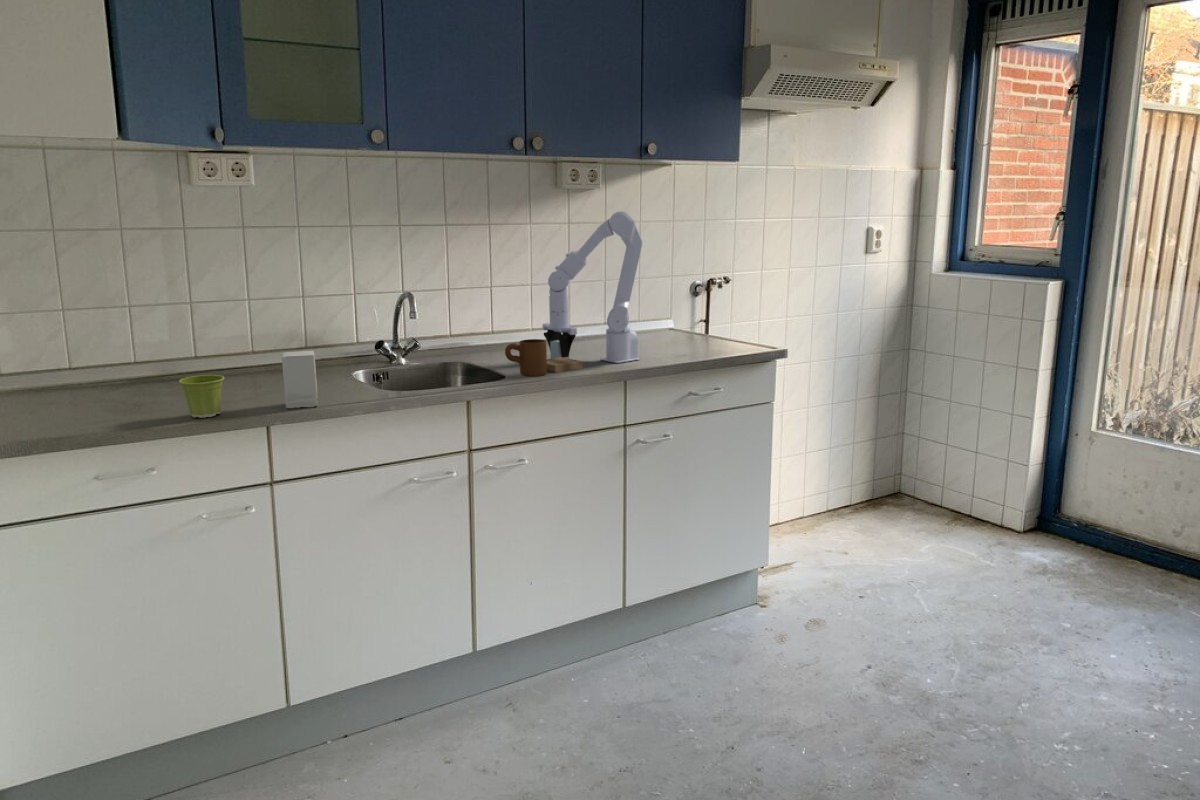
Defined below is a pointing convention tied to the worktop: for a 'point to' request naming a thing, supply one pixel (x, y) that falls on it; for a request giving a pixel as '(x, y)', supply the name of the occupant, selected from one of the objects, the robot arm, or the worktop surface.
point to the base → (563, 364)
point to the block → (556, 349)
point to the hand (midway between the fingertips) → (559, 356)
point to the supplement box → (299, 378)
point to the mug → (529, 356)
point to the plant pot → (203, 393)
